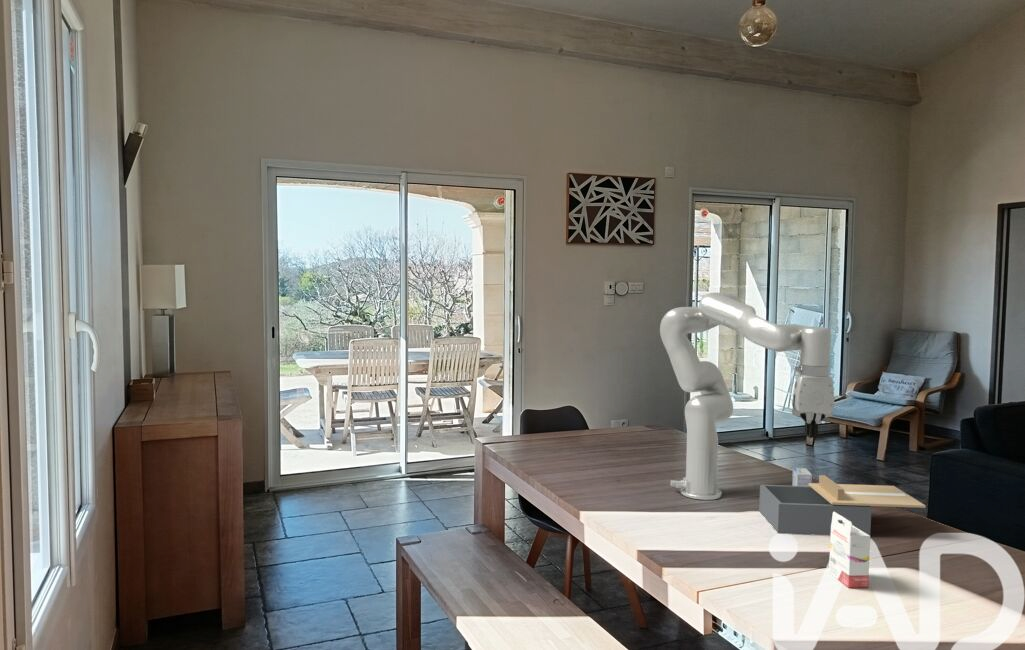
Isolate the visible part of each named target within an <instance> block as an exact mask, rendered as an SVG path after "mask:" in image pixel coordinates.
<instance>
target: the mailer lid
mask: <svg viewBox="0 0 1025 650" xmlns="http://www.w3.org/2000/svg"><path fill="white" fill-rule="evenodd" d="M809 486H810V487H811V488H813V489H814V490H815V491H816V492H817V493H819V494H820V495H821V496H822V497H823V498H825V499H826V500H827V501H828V502H830V503H831V504H832V505H860V506H871V507H888V508H889V507H892V508H893V507H895V508H921V509H925V508H927V507H926V506H927V505H925V504H924V503H922V502H921V501H919V500H917V499H916V498H914V497H913V496H911V495H909V494H908V493H906V492H905V491H903V490H901V489H900V488H898V487H896V486H895V485H880V484H879V485H878V484H877V485H875V484H850V483H848V484H847V483H845V484H844V483H836V482H835V481H833V480H832V479H831V478H829V477H828V476H827V475H825V474H823V475H822V474H819V476H818V482H816V483H814V482H812V483H809Z"/></svg>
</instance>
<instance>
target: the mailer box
mask: <svg viewBox="0 0 1025 650" xmlns="http://www.w3.org/2000/svg"><path fill="white" fill-rule="evenodd" d="M758 503H759V507H758V508H759V509H758V511H759V513H760V514H761V516H762V517H763V516H764V517H765V518H766V519H765V518H764V517H763V518H764V519H765V520H766V521H767V522H768V523H770V524H771V525H772V526H773V527H772V526H771V525H770V524H769V525H770V526H771V527H772V528H773V530H774V531H775V530H776V531H777V532H776V531H775V532H776V533H777V534H785V533H797V534H796V535H811V534H814V535H816V536H817V535H819V536H831V523H832V515H833V512H836V513H837V514H839V515H841V516H842V517H844V518H846V519H847V520H849V521H851V522H852V525H853V526H855V527H856V528H858V529H860V530H861V531H863V532H864V533H866V534H868V535H870V536H871V525H872V523H871V521H872V506H860V505H832V504H831V503H830V502H828V501H827V500H826V499H825V498H823V497H822V496H821V495H820V494H819V493H817V492H816V491H815V490H814V489H813V488H811V487H810V486H792V485H785V484H784V485H780V484H779V485H778V484H777V485H776V484H759V502H758ZM838 522H839V523H840V524H845V523H843V522H842V520H841V521H840V520H838Z"/></svg>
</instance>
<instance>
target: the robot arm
mask: <svg viewBox="0 0 1025 650" xmlns="http://www.w3.org/2000/svg"><path fill="white" fill-rule="evenodd" d="M720 325H721V326H723V327H725V328H728V329H730V330H733V331H735V332H737V333H740V335H741V336H742V337H744V338H745V339H747V341H749V342H752V343H753V344H755V345H757V346H760V347H763V348H764V349H767V350H769V351H772V352H777V353H782V352H792V351H793V352H794V351H800V354H799V355H800V358H799V363H798V366H794V372H797V373H798V374H797V375H796V378H795V382H794V386H793V391H792V393H793V394H792V401H791V402H792V403H791V404H792V405H791V406H792V410H791V414H792V415H793V416H794V417H800V418H801V419H802V421H804V434H805V436H806V437H807V438H809V439H816V438H817V435H818V433H819V424H820V423H821V421H823V420H824V419H825V418H831V417H833V415H834V414H833V412H834V411H835V389H834V380H833V377H832V376H830V362H831V361H830V360H831V342H832V340H831V339H832V331H831V330H830V329H829V328H828V327H824V326H806V325H802V324H798V323H797V324H796V323H788V324H786V323H785V324H777V323H774V322H772V321H769V320H767V319H764V318H762V317H760V316H758V315H757V312H756V309H755V307H753V306H752V305H749V304H746V303H745V302H741V301H740V299H739V298H738V297H737V296H736V295H734V294H732V293H730V292H710V293H707V294H705V295H704V296H702V298H701V299H700V301H699V303H698V306H680V307H679V306H678V307H675V308H672V309H670V310H669V311H667V312H666V313H665V314H664V316H663V317H662V318H661V321H660V325H659V327H660V328H659V334H660V339H661V341H662V344H663V346H664V349H665V351H666V353H667V355H668V357H669V360H670V363H671V366H672V369H673V372H674V374H675V377H676V380H677V383H678V385H679V386H680V389H681V391H682V390H683V391H684V392H686V393H699V392H700V394H699V395H695V396H693V397H691V398H690V399H689V400H688V401H687V402H686V404H685V407H684V417H685V418H684V420H685V425H686V456H685V457H686V458H685V459H686V461H685V465H686V466H685V476H683V479H680V480H675V479H674V480H673V479H670V485H669V486H670V487H675V488H676V489H680V494H681V495H683V497H684V496H685V497H687V498H690V499H694V500H701V501H703V500H704V501H713V500H718V499H721V497H722V494H723V493H722V491H721V490H720V489H718V461H719V460H718V457H719V456H718V455H719V438H718V431H717V429H716V424H718V423H722V422H725V421H727V420H729V419H730V418H731V417H732V415H733V412H734V403H733V400H732V397H731V395H730V392H729V389H728V387H727V384H726V381H725V379H724V376H723V373H722V372H721V370H720V368H719V367H718V366H717V365H716V364H715V363H713V362H710V361H707V360H706V361H705V360H701V359H699V357H698V354H697V351H696V347H694V345H693V343H692V342H691V341H690V339H689V338H688V336H687V335H688V334H698V333H704V332H707V331H709V330H711V329H713V328H716V327H718V326H720Z"/></svg>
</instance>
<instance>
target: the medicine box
mask: <svg viewBox="0 0 1025 650" xmlns="http://www.w3.org/2000/svg"><path fill="white" fill-rule="evenodd" d="M791 475H792V478H791V479H792V483H791V484H792V485H791V486H809V483H813V474H812V473H811V472H810V471H809V470H808V469H807V468H806V467H792V474H791Z"/></svg>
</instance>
